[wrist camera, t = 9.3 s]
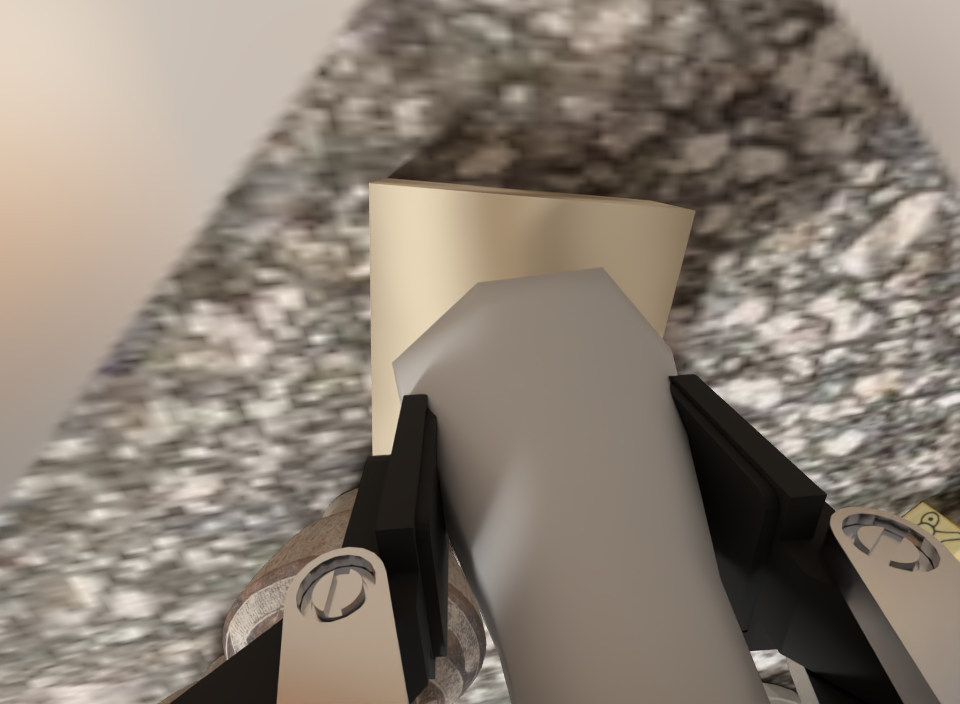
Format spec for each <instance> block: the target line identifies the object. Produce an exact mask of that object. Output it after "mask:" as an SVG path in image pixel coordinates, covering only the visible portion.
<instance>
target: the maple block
mask: <svg viewBox="0 0 960 704" xmlns="http://www.w3.org/2000/svg"><path fill="white" fill-rule="evenodd" d="M369 210H370V288H371V366H372V444H373V456H376V455H389V454H391V452H392V447H393V442H394V437H395V433H396V428H397V423H398V419H399V414H400V409H401V404H400V399H399V394H398V390H397V385H396V380H395V375H394V371H393V366H392V362H393V361H395V360H396V359H397V358H398V357H399V356H400V355H401V354H402V353H403V352H404V351H405V350H406V349H407V348H408V347H409V346H411V345H412V344H413V343H414V342H415V341H416V340H417V339H418V338H419V337H420V336H421V335H422V334H423V333H424V332H425V331H427V330H428V329H429V328H430V327H431V326H432V325H433V324H434V323H435V322H436V321H437V320H438V319H439V318H440V317H441V316H442V315H444V314H445V313H446V312H447V311H448V310H449V309H450V308H451V307H452V306H453V305H454V304H455V303H456V302H457V301H458V300H460V299H461V298H462V297H463V296H464V295H465V294H466V293H467V292H468V291H469V290H470V289H471V288H472V287H473V286H474V285H476V284H477V283H478V282H486V281H494V280H503V279H511V278H519V277H527V276H535V275H543V274H551V273H559V272H567V271H575V270H583V269H592V268H600V267H603V268H604V270H605V271H606V272H607V273H608V274H609V276H610V277H611V278H612V279H613V280H614V281H615V283H616V284H617V285H618V286H619V287H620V289H621V290H622V291H623V292H624V293H625V295H626V296H627V297H628V298H629V299H630V301H631V302H632V303H633V304H634V305H635V307H636V308H637V309H638V310H639V311H640V313H641V314H642V315H643V316H644V317H645V318H646V320H647V321H648V322H649V323H650V324H651V326H652V327H653V328H654V329H655V330H656V332H657V333H658V334H659V335H660V336H661V338H662V339H663V337H664V333H665V329H666V325H667V321H668V317H669V313H670V309H671V305H672V301H673V298H674V294H675V290H676V286H677V282H678V278H679V274H680V270H681V266H682V263H683V259H684V255H685V251H686V247H687V243H688V239H689V235H690V231H691V228H692V224H693V220H694V216H695V212H696V211H695V210H691V209H686V208H682V207H677V206H673V205H668V204H664V203H660V202H655V201H651V200H640V199H628V198H616V197H604V196H593V195H581V194H569V193H557V192H545V191H533V190H522V189H510V188H498V187H486V186H474V185H462V184H451V183H439V182H427V181H415V180H403V179H391V178H386V179H382V180H379V181H375V182H372V183H369Z"/></svg>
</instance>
